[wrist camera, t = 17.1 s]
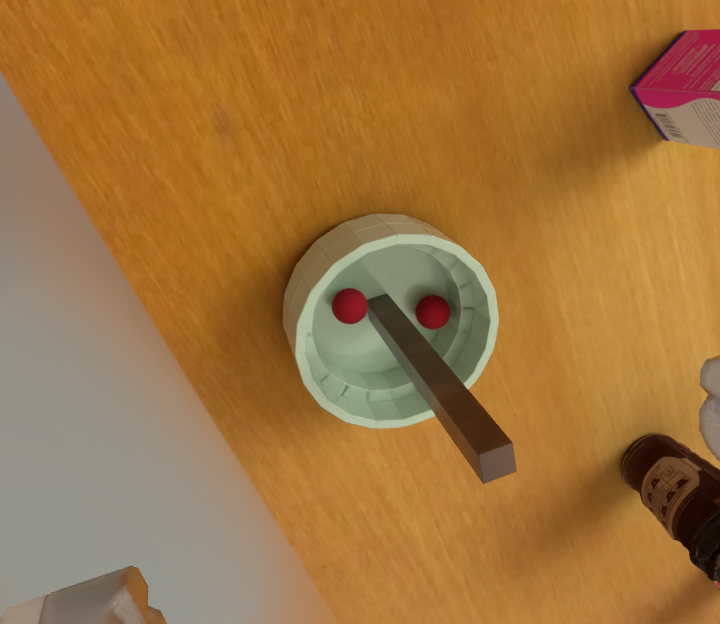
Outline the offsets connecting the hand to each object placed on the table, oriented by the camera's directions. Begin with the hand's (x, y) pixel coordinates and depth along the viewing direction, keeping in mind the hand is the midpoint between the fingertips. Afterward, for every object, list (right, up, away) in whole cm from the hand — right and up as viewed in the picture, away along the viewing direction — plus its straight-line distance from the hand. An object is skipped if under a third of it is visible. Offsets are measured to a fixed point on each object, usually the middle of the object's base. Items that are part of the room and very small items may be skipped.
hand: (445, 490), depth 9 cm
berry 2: (+4, +2, +40) cm, 40 cm away
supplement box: (+22, +20, +40) cm, 50 cm away
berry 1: (-2, +3, +38) cm, 38 cm away
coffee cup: (+27, -12, +55) cm, 62 cm away
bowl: (0, +3, +40) cm, 40 cm away
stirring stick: (0, +3, +40) cm, 40 cm away
